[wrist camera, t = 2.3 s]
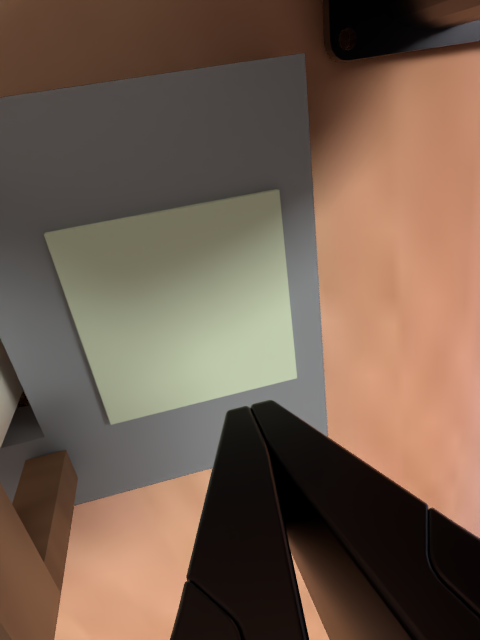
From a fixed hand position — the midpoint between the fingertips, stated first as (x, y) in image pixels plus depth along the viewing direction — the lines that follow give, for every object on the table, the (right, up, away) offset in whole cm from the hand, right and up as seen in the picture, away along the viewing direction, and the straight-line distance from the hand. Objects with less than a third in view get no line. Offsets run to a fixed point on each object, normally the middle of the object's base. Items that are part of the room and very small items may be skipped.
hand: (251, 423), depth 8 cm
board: (-10, +1, +5) cm, 11 cm away
